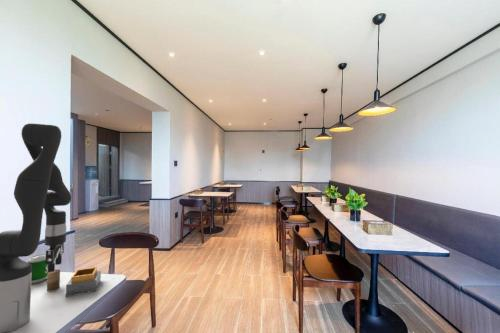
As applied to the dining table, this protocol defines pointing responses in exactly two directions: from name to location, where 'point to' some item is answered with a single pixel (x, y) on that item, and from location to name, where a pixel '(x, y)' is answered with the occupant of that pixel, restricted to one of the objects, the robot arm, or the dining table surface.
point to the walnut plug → (53, 280)
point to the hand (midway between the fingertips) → (54, 267)
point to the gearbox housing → (83, 281)
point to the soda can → (38, 268)
